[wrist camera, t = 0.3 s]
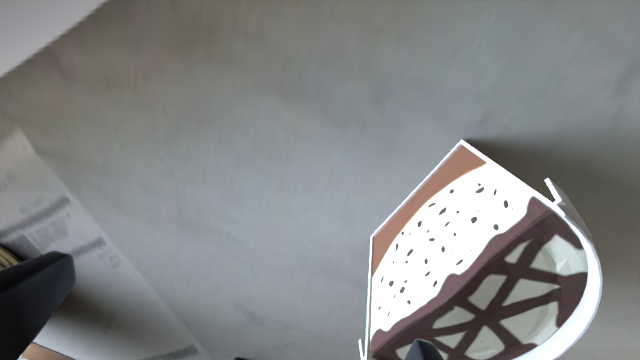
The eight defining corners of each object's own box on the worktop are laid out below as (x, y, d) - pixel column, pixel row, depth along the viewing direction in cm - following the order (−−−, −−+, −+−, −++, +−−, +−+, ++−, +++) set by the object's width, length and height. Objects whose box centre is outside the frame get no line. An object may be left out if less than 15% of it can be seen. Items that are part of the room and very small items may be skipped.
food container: (421, 287, 26) (453, 428, 17) (358, 249, 25) (358, 377, 16) (552, 174, 21) (698, 292, 12) (479, 120, 20) (579, 204, 11)
